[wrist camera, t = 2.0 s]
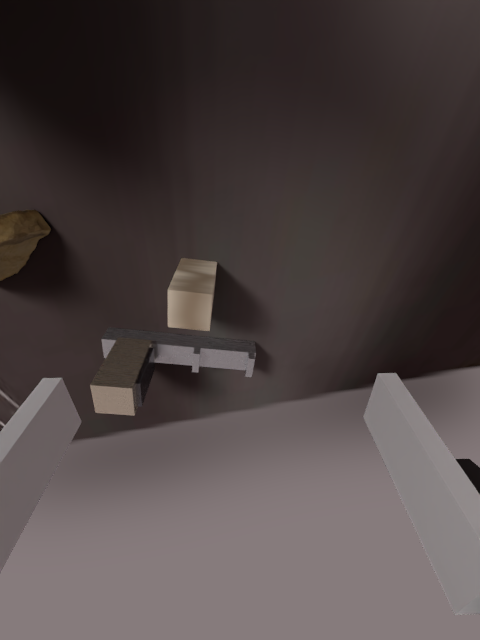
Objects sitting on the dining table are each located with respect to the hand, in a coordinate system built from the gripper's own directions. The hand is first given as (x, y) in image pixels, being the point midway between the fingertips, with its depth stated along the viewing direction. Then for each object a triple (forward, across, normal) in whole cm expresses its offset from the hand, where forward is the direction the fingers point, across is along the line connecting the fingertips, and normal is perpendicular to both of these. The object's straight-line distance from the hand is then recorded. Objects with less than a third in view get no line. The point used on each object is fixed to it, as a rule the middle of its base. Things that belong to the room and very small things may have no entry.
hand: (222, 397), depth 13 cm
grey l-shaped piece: (+22, -6, -14) cm, 27 cm away
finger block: (+22, -4, -4) cm, 23 cm away
